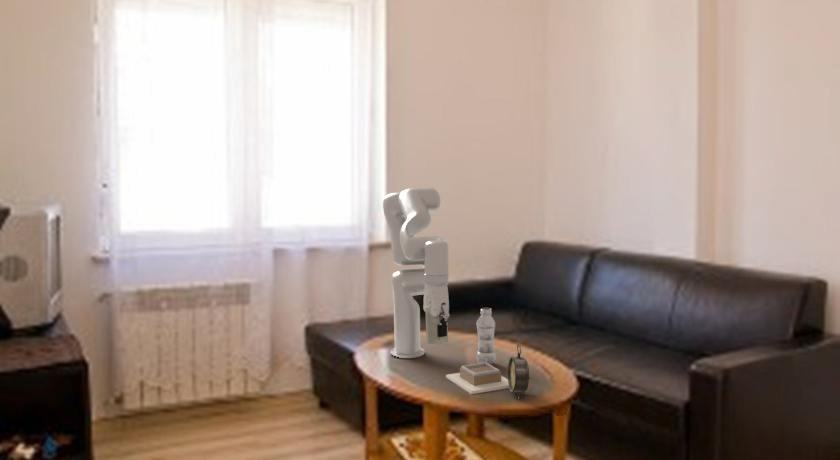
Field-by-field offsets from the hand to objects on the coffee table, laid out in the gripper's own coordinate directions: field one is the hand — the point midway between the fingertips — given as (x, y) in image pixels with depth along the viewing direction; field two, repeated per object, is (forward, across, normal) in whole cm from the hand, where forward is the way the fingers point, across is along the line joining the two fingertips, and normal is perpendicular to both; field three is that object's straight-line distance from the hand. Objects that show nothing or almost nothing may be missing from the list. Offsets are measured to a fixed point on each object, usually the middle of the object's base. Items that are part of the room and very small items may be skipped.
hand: (436, 333), depth 241 cm
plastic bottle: (+18, -13, +25) cm, 33 cm away
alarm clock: (+17, +19, +19) cm, 32 cm away
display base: (+17, +3, +14) cm, 22 cm away
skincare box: (+3, 0, 0) cm, 3 cm away
